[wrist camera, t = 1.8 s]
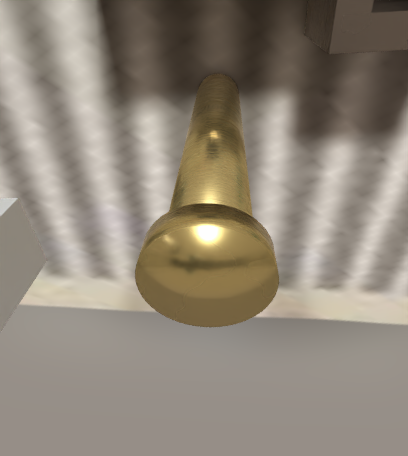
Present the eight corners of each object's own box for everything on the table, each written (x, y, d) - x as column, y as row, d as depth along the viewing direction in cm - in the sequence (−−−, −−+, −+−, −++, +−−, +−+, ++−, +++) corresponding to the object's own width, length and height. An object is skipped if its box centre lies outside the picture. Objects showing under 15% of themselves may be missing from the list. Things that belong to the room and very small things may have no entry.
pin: (192, 125, 24) (147, 326, 10) (187, 66, 21) (121, 228, 8) (245, 122, 23) (273, 327, 10) (246, 63, 21) (285, 225, 8)
